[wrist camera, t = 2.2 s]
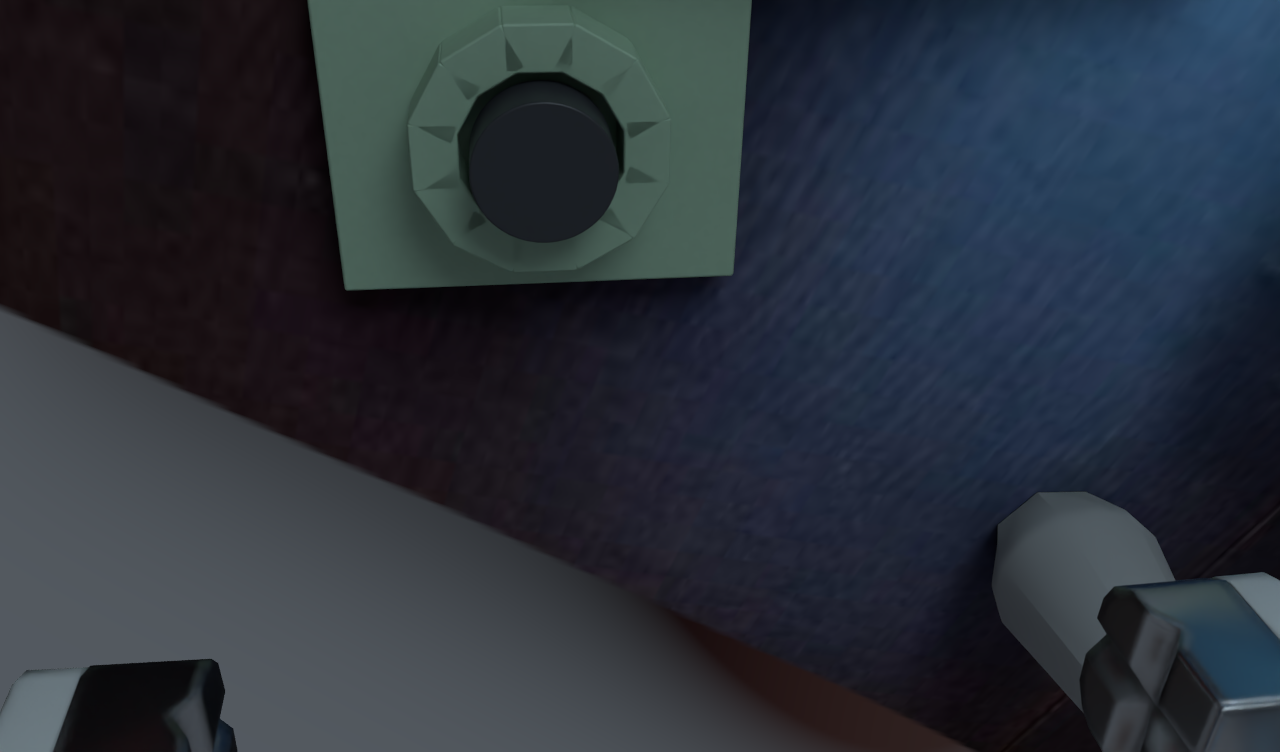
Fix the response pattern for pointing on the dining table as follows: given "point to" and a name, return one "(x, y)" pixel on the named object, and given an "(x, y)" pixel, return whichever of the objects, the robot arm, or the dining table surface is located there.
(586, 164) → the tare button
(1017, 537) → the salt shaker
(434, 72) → the green dial panel
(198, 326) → the dining table surface
